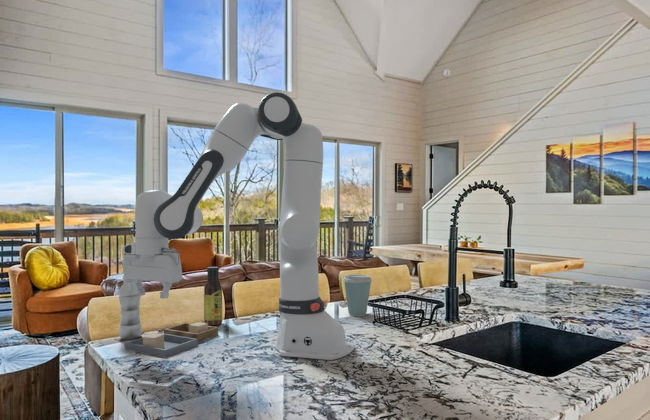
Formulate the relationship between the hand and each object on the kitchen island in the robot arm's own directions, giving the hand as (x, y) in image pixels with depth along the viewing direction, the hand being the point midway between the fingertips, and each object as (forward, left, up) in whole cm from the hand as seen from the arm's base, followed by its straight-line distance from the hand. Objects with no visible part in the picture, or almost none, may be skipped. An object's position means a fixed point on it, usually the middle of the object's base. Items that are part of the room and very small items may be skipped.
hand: (152, 296), depth 129 cm
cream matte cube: (-2, -15, -15) cm, 22 cm away
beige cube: (0, 0, -15) cm, 15 cm away
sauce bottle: (+7, -32, -16) cm, 36 cm away
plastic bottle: (+17, -6, -16) cm, 24 cm away
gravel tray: (0, -3, -16) cm, 16 cm away
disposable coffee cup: (-33, -66, -16) cm, 75 cm away
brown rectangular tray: (+1, -15, -16) cm, 22 cm away
